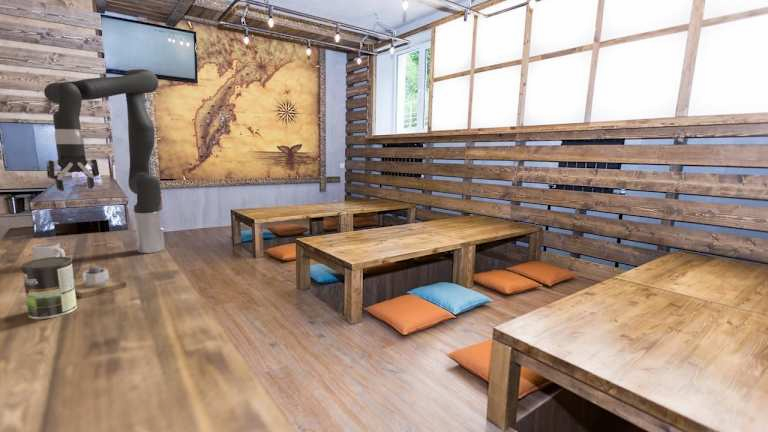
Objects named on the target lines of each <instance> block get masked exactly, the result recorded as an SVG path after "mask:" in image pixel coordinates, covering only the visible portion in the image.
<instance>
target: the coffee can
mask: <svg viewBox="0 0 768 432" xmlns="http://www.w3.org/2000/svg"><path fill="white" fill-rule="evenodd" d="M20 268H21V270H22V276H23V284H24V290H25V298H26V304H27V312H28V315H27V316H28V318H29V319H32V320H47V319H55V318H58V316H59V317H62V316H61V315H63V316H65V314H66V315H68V314H71V313H72V312H74V311H76V310H77V309H78V305H77V295H75V286H74V283H75V280H74V279H75V278H74V269H73V259H72V258H71V257H68V256H65V257H61V256H60V257H49V258H42V259H37V260H35V259H34V260H30V261H26V262H24V263H22V264H21V265H20ZM54 317H55V318H54Z"/></svg>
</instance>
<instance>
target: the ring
mask: <svg viewBox="0 0 768 432" xmlns="http://www.w3.org/2000/svg"><path fill="white" fill-rule="evenodd" d="M81 274H82V281H83V283H84V286H86V287H97V286H101V285H105V284H107V283H108V282H109V275H110V274H109V269H107V268H102V267H101V268H100V273H95V274H89V269H88V270H86V271H84V272H82V273H81Z"/></svg>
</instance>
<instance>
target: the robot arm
mask: <svg viewBox="0 0 768 432" xmlns="http://www.w3.org/2000/svg"><path fill="white" fill-rule="evenodd" d="M158 87H159V79H158V77H157V75H156V74H155V73H154V72H153V71H151V70H149V69H143V68H140V69H128V70H127V71H125V73H124V75H121V76H107V77H104V76H102V77H93V78H92V77H91V78H86V79H80V80H74V81H62V82H61V81H59V82H51V83H49V84H47V85H46V86H45V87H44V91H43V92H44V96H45V98H46V99H47V100H48V101H49V102H51V103H53V104H56V105H58V110H57V111H55V112H54V113H53V115H52V118H53V119H52V120H53V127H54V139H55V140H54V141H55V148H56V152H57V160H46V172H47V173H46V176H47V178H49V179H52V180H54V181H55V185H56V187H55V188H56V189H57V190H59V192H64V191H65V189H64V182H63V177H65V175H67V173H72V174H73V173H82V174H84V175H85V176H86V177H87V178H86V181H87V188H88V189H93V188H94V187H95V180H94V178H95V177H98V176H100V171H99V166H98V165H99V164H98V160H97V159H95V158H94V159H93V158H91V159H87V158H86V152H85V143H84V142H85V141H84V137H83V134H82V133H83V132H82V129H81V123H80V115H81V109H82V103H83V101H90V100H91V101H92V100H98V99H104V98H109V97H113V96H117V95H118V96H119V95H124V94H125V100H126V108H127V109H126V110H127V131H128V133H127V135H128V149H129V150H128V151H129V170H128V188H129V189H130V190H129V191H131V192H132V193H133V194H135V195H136V203H135V204H134V205H133V214H134V215H133V216H134V221H135V222H134V225H135V234H136V244H137V252H138V253H140V254H153V253H157V252H161V251H162V250H165V249H166V248H164V247H165V246H166V245H165V235H164V228H163V227H162V225H161V214H160V212H161V211H160V207H161V205H162V203H161V201H162V200H161V199H162V197H161V196H162V195H161V184H160V181H159V179H158V177H156V176H155V175H154V174H151V173H150V159H151V155H152V153H153V150H154V146H155V141H156V140H155V126H154V123H153V121H152V119H151V117H150V115H149V114H148V111H147V109H146V107H145V98H144V97H145V94H151V93H154V92H155V91H157V89H158ZM57 165H58V166H59V170H58V171H57V173H56V174H55V168H56V167H57ZM87 165H89V166H90V167H91V168H90V169H91V171H90V170H89V169H88V168H87V167H86V166H87Z"/></svg>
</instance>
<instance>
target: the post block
mask: <svg viewBox="0 0 768 432" xmlns="http://www.w3.org/2000/svg"><path fill="white" fill-rule="evenodd" d="M100 269H101V267H99V266H96V267H95V266H94V267H90V268H88V270H89V274H95V273H100ZM108 275H109V282H108V283H107V284H105V285H101V286H97V287H86V286H84V283H83V280H82V281H78V282H77V281H76V282H74V286H75V295H76V297H79V298H81V299H85V298H87V297H91V296H92V297H93V296H97V295H99V294H104V293H108V292H110V291H111V292H112V291H115V290H119V289H123V288H127V282H126V281H124V280H121V279H120V278H118V277H114V276H112V275H110V274H108Z"/></svg>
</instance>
